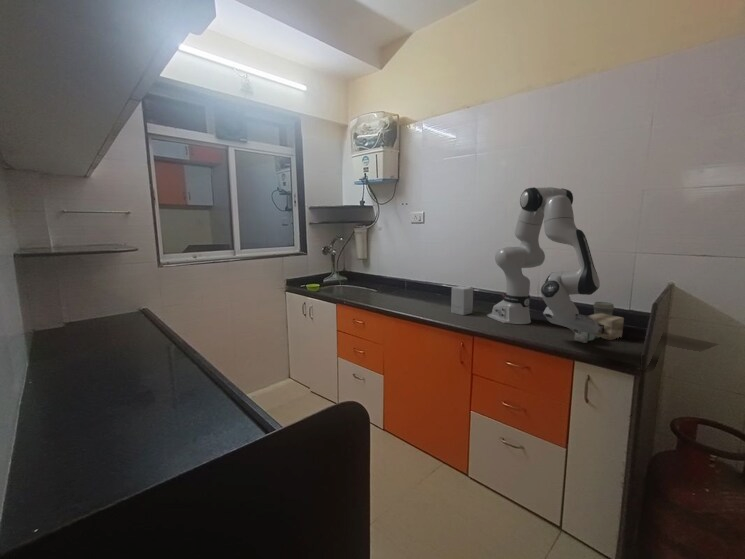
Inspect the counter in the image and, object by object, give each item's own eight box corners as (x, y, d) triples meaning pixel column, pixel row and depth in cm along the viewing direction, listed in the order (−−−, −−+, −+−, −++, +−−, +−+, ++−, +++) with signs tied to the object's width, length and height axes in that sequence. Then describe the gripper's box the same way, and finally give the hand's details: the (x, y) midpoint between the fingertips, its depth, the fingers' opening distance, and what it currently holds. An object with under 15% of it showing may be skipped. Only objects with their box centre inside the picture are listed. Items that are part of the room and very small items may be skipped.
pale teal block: (576, 337, 149) (577, 325, 148) (581, 335, 151) (582, 324, 150) (589, 340, 144) (590, 328, 144) (594, 339, 146) (595, 327, 145)
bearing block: (587, 334, 157) (588, 315, 155) (598, 331, 161) (600, 312, 160) (610, 340, 148) (612, 320, 147) (621, 337, 152) (624, 317, 151)
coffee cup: (607, 325, 170) (609, 301, 168) (615, 330, 162) (618, 305, 160) (588, 324, 172) (590, 301, 170) (595, 329, 164) (597, 304, 162)
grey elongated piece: (574, 340, 148) (575, 321, 146) (598, 333, 156) (600, 316, 155) (584, 343, 144) (586, 324, 143) (608, 336, 152) (610, 318, 151)
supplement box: (473, 313, 196) (474, 287, 194) (463, 315, 191) (464, 289, 188) (460, 310, 203) (460, 285, 201) (450, 312, 198) (451, 287, 195)
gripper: (595, 311, 130) (607, 332, 136) (546, 301, 148) (559, 320, 154) (587, 324, 129) (600, 345, 135) (539, 312, 147) (552, 331, 153)
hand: (577, 331), depth 145 cm, fingers closed
